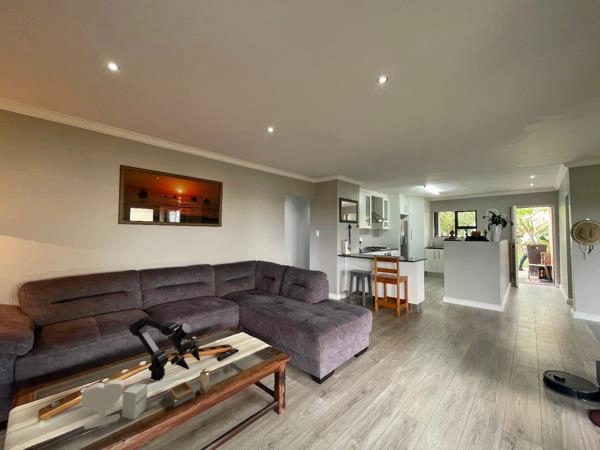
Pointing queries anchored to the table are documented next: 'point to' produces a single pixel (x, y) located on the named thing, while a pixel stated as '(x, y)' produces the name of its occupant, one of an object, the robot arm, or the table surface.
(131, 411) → the supplement box
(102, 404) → the heart sculpture
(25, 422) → the table surface
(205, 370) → the spout can
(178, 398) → the grey square tray
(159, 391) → the table surface
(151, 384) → the table surface
